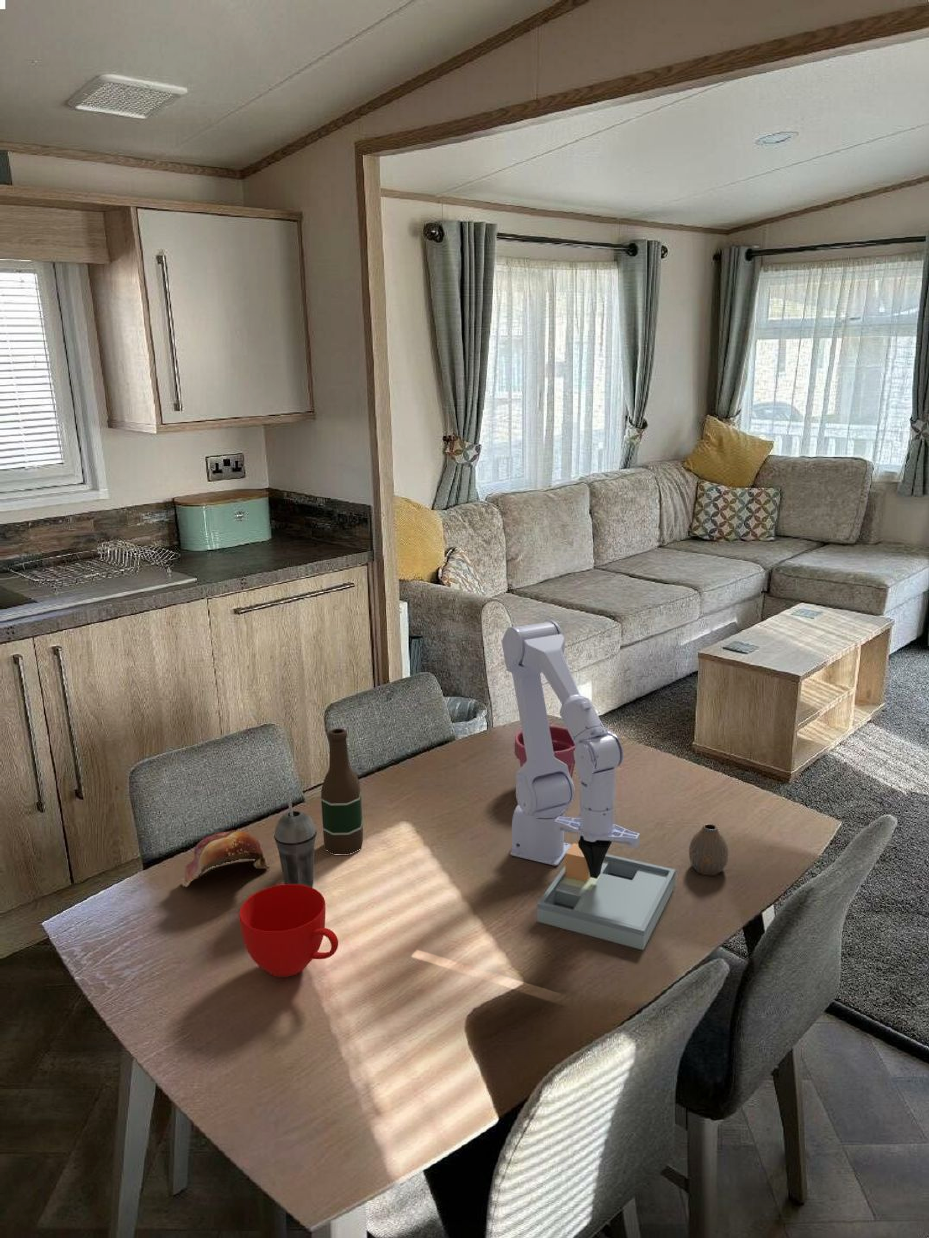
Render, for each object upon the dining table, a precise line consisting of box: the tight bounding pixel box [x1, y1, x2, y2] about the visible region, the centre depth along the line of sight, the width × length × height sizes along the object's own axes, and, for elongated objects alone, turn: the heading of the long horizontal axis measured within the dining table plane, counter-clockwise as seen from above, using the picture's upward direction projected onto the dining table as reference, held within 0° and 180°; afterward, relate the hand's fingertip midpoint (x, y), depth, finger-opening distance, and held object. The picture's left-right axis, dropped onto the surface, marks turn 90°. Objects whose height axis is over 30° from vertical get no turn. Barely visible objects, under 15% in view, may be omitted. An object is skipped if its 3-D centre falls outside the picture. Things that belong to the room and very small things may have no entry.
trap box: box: [536, 853, 677, 951], centre depth 154 cm, size 18×20×3 cm
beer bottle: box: [320, 728, 364, 855], centre depth 172 cm, size 8×8×24 cm
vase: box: [688, 823, 729, 877], centre depth 163 cm, size 7×7×9 cm
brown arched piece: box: [184, 829, 269, 888], centre depth 163 cm, size 16×13×10 cm
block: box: [564, 842, 590, 881], centre depth 159 cm, size 4×4×4 cm
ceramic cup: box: [238, 883, 339, 978], centre depth 138 cm, size 13×17×10 cm
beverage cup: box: [273, 791, 318, 888], centre depth 157 cm, size 7×7×20 cm
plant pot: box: [514, 725, 576, 780], centre depth 194 cm, size 14×14×13 cm
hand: (595, 875), depth 156 cm, fingers closed
